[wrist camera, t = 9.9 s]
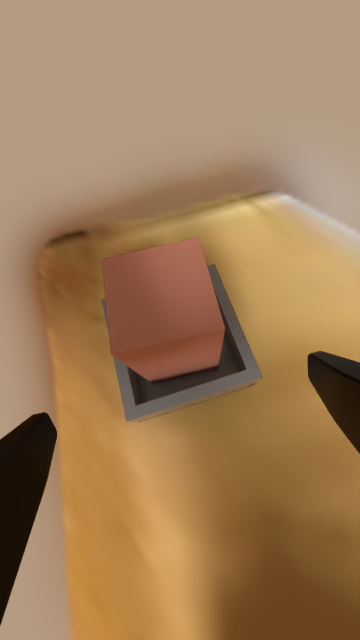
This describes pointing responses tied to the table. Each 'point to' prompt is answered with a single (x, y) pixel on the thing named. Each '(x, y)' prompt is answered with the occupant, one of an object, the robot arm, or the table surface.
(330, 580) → the table surface
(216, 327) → the red block
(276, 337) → the table surface
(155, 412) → the open box
